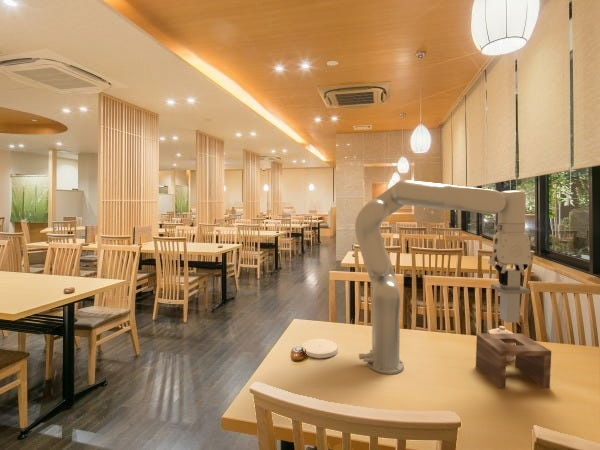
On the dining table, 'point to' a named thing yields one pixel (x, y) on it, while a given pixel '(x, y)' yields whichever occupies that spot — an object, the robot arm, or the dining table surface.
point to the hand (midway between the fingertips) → (510, 283)
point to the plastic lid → (320, 348)
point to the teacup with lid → (503, 331)
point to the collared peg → (510, 296)
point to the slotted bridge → (526, 352)
